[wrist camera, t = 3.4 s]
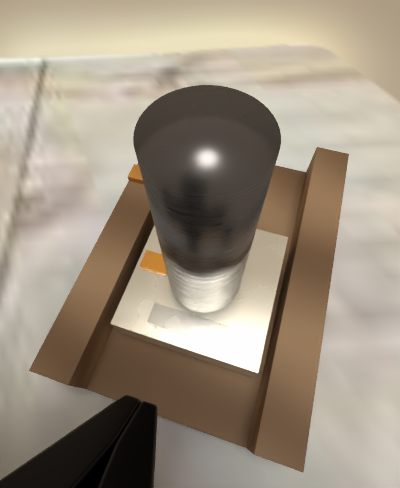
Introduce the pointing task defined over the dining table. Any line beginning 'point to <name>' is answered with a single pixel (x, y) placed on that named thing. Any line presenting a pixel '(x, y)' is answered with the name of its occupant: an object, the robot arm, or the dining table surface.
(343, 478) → the dining table surface
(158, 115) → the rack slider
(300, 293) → the walnut guide
